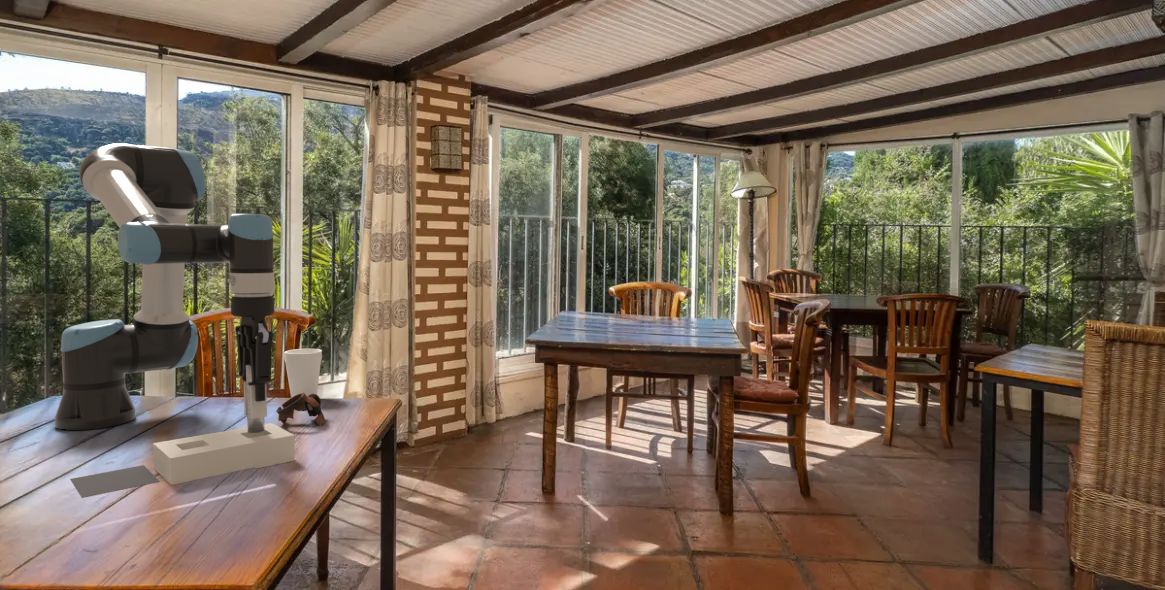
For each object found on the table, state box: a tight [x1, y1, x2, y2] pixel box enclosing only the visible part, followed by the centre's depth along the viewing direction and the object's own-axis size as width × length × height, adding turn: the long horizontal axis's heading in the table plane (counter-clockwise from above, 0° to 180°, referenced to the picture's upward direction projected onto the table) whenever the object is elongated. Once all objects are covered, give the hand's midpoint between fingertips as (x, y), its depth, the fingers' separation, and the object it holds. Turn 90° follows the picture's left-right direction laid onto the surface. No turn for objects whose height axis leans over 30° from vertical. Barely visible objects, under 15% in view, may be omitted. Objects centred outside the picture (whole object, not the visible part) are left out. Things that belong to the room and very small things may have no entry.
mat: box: [69, 464, 161, 499], centre depth 117 cm, size 12×11×1 cm
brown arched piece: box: [275, 393, 326, 427], centre depth 157 cm, size 12×10×8 cm
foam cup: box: [283, 348, 323, 398], centre depth 181 cm, size 10×9×13 cm
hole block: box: [152, 422, 296, 486], centre depth 127 cm, size 12×21×5 cm, turn 135°
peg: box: [246, 364, 265, 433], centre depth 130 cm, size 3×3×13 cm
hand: (255, 415), depth 130 cm, fingers closed on peg, 3 cm apart
